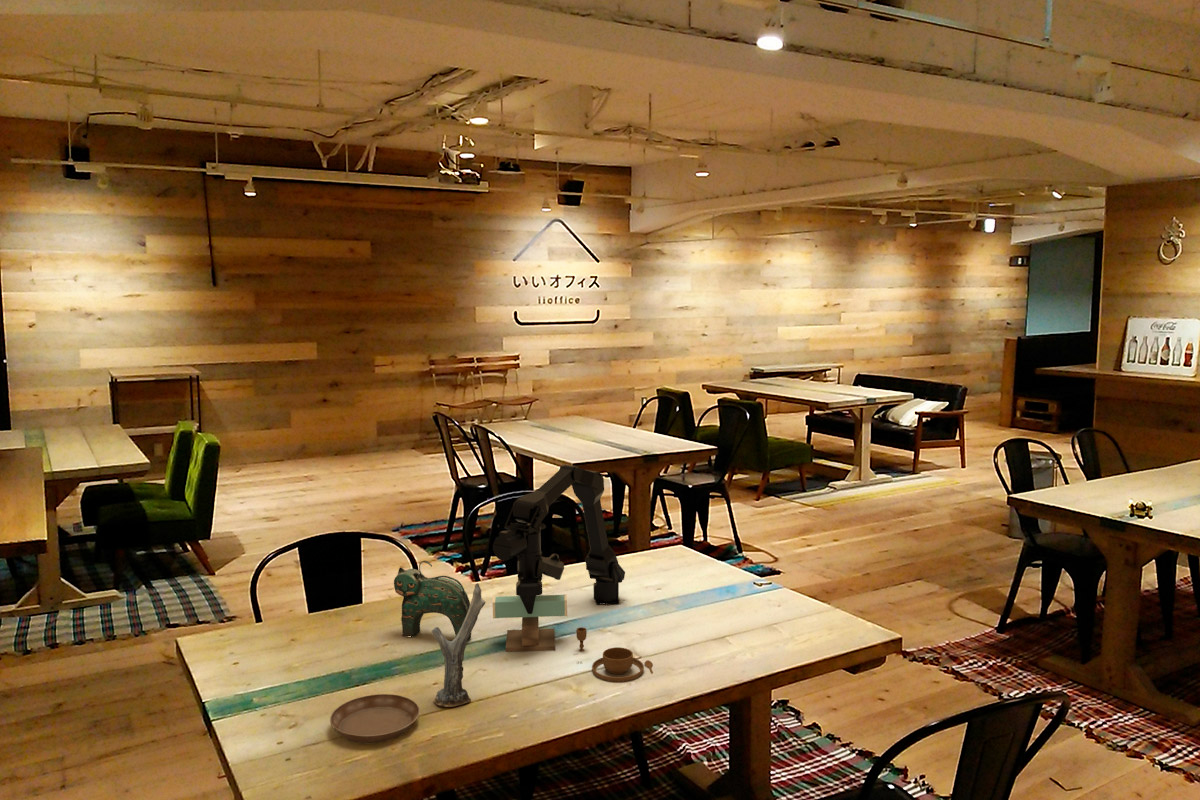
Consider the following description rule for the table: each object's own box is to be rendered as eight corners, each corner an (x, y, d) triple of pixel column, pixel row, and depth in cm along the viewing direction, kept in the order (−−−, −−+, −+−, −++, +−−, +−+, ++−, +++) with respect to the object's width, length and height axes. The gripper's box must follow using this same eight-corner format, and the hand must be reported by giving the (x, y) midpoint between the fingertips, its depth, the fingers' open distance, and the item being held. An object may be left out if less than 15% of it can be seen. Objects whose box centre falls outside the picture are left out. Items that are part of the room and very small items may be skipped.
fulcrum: (554, 632, 234) (554, 609, 233) (555, 650, 223) (554, 626, 222) (507, 633, 233) (506, 611, 233) (505, 651, 223) (505, 628, 222)
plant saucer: (426, 705, 196) (425, 692, 196) (412, 748, 179) (411, 734, 178) (342, 707, 196) (342, 693, 195) (320, 750, 178) (319, 736, 178)
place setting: (582, 687, 205) (581, 662, 204) (573, 650, 225) (572, 627, 224) (659, 682, 207) (659, 657, 206) (643, 646, 227) (643, 623, 226)
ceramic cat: (394, 637, 232) (391, 561, 229) (406, 627, 238) (404, 553, 235) (466, 646, 226) (463, 568, 223) (477, 636, 232) (475, 560, 229)
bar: (492, 618, 225) (492, 602, 224) (493, 612, 229) (493, 596, 228) (567, 616, 226) (567, 600, 225) (566, 609, 230) (566, 594, 229)
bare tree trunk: (439, 711, 193) (436, 597, 189) (428, 696, 200) (424, 586, 196) (491, 699, 198) (488, 588, 195) (478, 685, 205) (475, 577, 201)
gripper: (562, 560, 216) (563, 624, 219) (561, 537, 235) (562, 596, 237) (515, 562, 216) (516, 625, 218) (517, 538, 234) (518, 597, 236)
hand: (530, 610), depth 227 cm, fingers closed on bar, 4 cm apart
